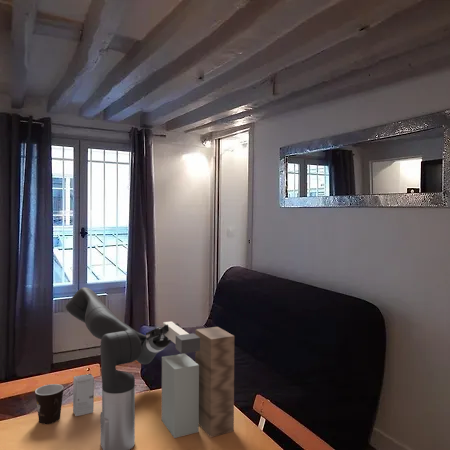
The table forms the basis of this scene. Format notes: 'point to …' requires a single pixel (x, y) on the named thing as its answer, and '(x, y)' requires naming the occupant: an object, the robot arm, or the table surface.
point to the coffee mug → (49, 403)
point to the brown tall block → (216, 380)
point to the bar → (182, 338)
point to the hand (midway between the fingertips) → (172, 326)
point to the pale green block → (180, 395)
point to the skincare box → (83, 394)
